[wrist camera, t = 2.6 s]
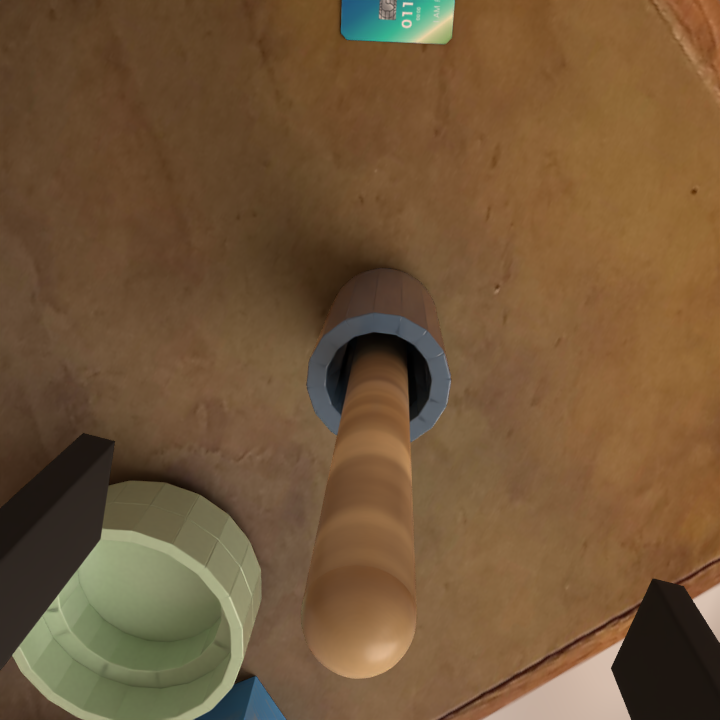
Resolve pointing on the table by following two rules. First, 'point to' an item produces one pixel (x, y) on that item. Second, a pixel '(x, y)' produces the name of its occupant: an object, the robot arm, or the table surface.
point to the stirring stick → (366, 523)
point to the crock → (390, 316)
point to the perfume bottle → (245, 704)
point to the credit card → (398, 20)
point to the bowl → (149, 611)
